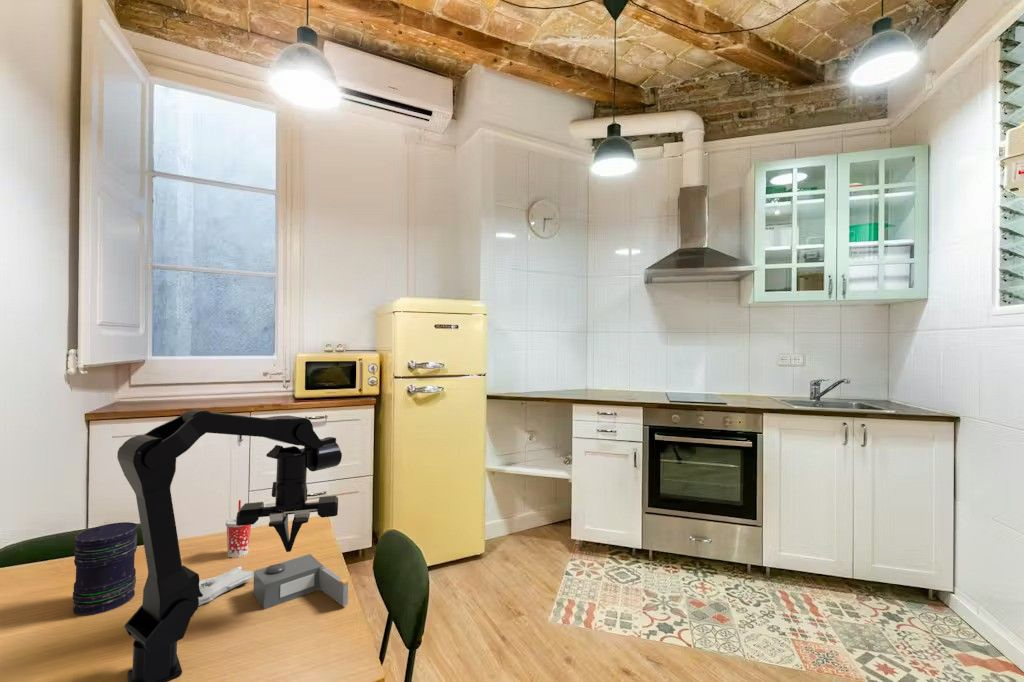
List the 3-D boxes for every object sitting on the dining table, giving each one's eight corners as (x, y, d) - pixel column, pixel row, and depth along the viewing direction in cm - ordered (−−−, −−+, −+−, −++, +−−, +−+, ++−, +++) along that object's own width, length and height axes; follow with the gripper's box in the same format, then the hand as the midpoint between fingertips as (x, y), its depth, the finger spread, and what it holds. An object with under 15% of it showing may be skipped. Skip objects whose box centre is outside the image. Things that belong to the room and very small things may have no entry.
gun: (232, 557, 107) (256, 568, 102) (233, 571, 107) (257, 583, 102) (140, 597, 91) (163, 613, 86) (141, 614, 91) (164, 630, 86)
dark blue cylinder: (146, 593, 97) (149, 525, 97) (94, 619, 87) (96, 543, 88) (114, 586, 99) (116, 519, 100) (59, 611, 90) (62, 537, 90)
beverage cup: (256, 552, 117) (257, 499, 117) (231, 561, 112) (233, 506, 112) (244, 546, 120) (245, 495, 120) (219, 555, 115) (221, 501, 115)
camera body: (323, 588, 100) (323, 563, 100) (264, 609, 91) (265, 582, 91) (309, 574, 105) (310, 551, 105) (253, 593, 97) (254, 568, 97)
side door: (323, 585, 100) (323, 564, 100) (348, 604, 93) (348, 580, 93) (318, 588, 99) (318, 566, 99) (342, 606, 92) (343, 582, 92)
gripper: (339, 464, 104) (337, 531, 103) (249, 469, 97) (246, 541, 97) (338, 476, 93) (336, 551, 93) (237, 483, 87) (233, 564, 86)
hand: (288, 551), depth 92 cm, fingers closed
